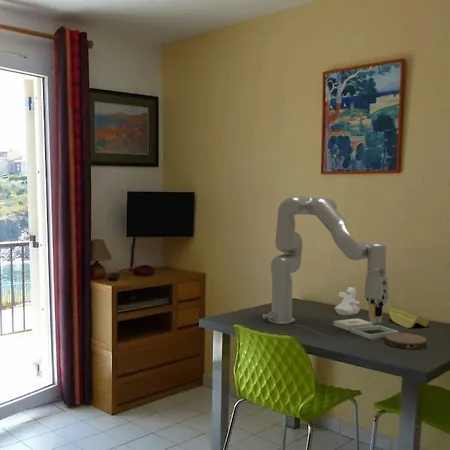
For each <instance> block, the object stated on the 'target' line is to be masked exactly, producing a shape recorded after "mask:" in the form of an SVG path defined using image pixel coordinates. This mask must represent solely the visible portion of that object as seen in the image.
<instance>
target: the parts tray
mask: <svg viewBox="0 0 450 450" xmlns="http://www.w3.org/2000/svg"><path fill="white" fill-rule="evenodd" d="M373 330H374V331H375V330H380V331H381V332H379V333H368V332H369V331H373ZM349 331H350V332H349V333H352V334H355V335H358V336H361V337H364V338H367V341H369V342H372V341H380V340H385V335H386V334H389V333H400V331H399V330H396V329H392V328H390V327H386V326H384V325H379V324H377V325H373V326H367V327H359V328H351V330H349ZM367 331H368V332H367Z"/></svg>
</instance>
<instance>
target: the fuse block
mask: <svg viewBox="0 0 450 450" xmlns="http://www.w3.org/2000/svg"><path fill="white" fill-rule="evenodd" d="M367 326H374V323H371V322H370V321H367V320H364V319H361V318H359V317H358V318H350V319H341V320H340V319H339V320H333V327H337V328H339V329H343V330H345V331H350V330H351V328H359V327H367Z"/></svg>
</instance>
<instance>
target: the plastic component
mask: <svg viewBox="0 0 450 450" xmlns="http://www.w3.org/2000/svg"><path fill="white" fill-rule="evenodd" d="M388 316H389V317H390V320H391V321H392V322H393V323H395V324H397V325H399V326H401V327H403V328H407V329H411V328H413V327H414V326H415V324H416V325H420V326H421V327H424V328H427V326H428V324H429V322H430V321H429V320H428V319H426V318H424V317H422V316H420V315H417V316H416V315H414V314H412V313H409V312H407V311H404V310H403V309H401V308H398V307H396V306H395V305H393V304H389V306H388Z"/></svg>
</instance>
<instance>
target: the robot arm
mask: <svg viewBox="0 0 450 450" xmlns="http://www.w3.org/2000/svg"><path fill="white" fill-rule="evenodd" d="M296 215H310V216H311V215H312V216H315V217H317V219H318V220H319V221H320V222H321V223H322V224H323V226H324V227H325V228H326V229H327V231H328V232H329V233H330V234H331V237H332V239H333V241H334V243H335V244H336V246H337V248H339V249H340V250H339V251H341V252H342V253H343V255H345V257H347V259H349V260H351V261H360V260H364V259H366V260H367V261H366V262H367V266H366V267H367V270H366V271H367V272H366V276H365V282H364V299H365V300H366V301H367V305H368V306H369V303H376V306H377V307H375V316H382V307H383V308H384V305H385V304H387V303H388V302H389V300H388V299H389V293H390V292H389V281H388V277H387V276H386V275H387V271H386V270H387V269H386V268H387V267H386V265H387V261H386V260H387V246H386V244H384V243H378V242H365V241H356V240H355V239H354V238H353V236H352V235H351V234H350V233H349V231H348V229H347V220H346V219H345V218H344V217H343V216H342V214H341V213H340V212H339V211H338V209H337V203H336V202H335V200H334V199H332V198H330V197H318V196H317V197H315V196H314V197H313V196H301V195H296V196H295V195H294V196H290V197H287V198H285V199H284V200H282V201H281V203H280V204H279V206H278V209H277V218H276V219H277V220H276V231H275V240H274V241H275V242H274V243H275V249H277V251H279V252H281V253H283V254H279V255H276V256H275V257H274V258H273V259H272V261H271V262H270V272H271V284H272V285H271V311H270V310H269V313H264V314H262V319H267V321H268V322H270V323H272V324H278V325H289V324H294V323H295V321H296V318H294V317H293V280H292V279H293V278H292V274H293V273H296V272H298V271H299V269H300V267H301V264H302V257H303V256H302V253H303V240H302V239H303V238H302V236H301V235H300V233H298V231H296V230H295V229H296V219H295V216H296Z"/></svg>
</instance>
